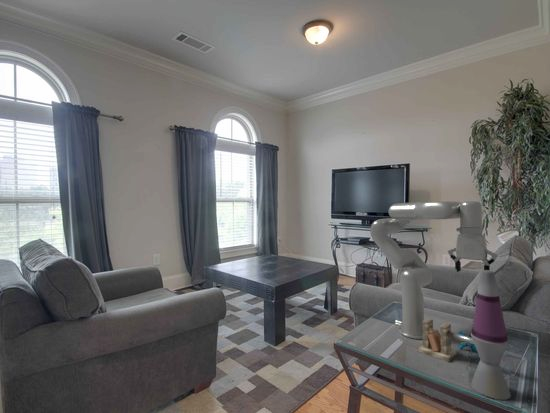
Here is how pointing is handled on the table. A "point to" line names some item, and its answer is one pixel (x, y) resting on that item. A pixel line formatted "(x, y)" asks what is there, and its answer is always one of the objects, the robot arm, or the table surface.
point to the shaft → (460, 337)
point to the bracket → (446, 350)
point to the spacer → (435, 340)
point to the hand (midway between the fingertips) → (472, 273)
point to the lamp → (489, 339)
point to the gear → (466, 343)
